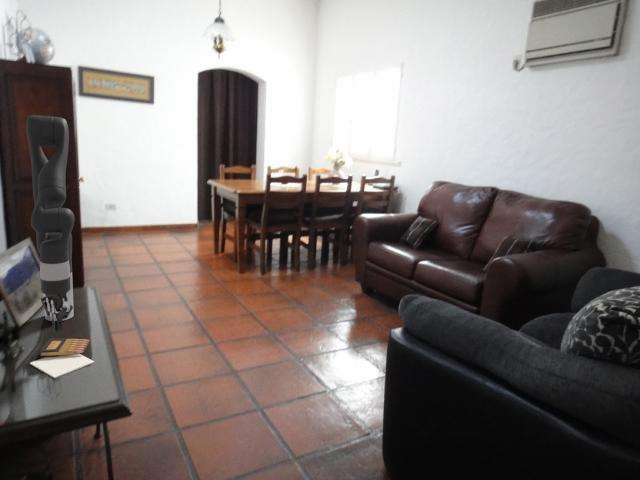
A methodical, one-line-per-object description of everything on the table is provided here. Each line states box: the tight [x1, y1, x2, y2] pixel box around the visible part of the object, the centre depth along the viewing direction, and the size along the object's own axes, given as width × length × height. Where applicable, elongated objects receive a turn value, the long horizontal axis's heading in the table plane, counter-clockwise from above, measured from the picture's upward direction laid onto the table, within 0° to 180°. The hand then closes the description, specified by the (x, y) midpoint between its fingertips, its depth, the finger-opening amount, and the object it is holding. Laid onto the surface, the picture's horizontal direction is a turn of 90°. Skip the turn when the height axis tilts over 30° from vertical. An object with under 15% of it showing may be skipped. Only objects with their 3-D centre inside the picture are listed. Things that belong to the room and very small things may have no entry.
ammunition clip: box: [39, 337, 91, 358], centre depth 141 cm, size 11×2×12 cm
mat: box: [29, 353, 95, 379], centre depth 134 cm, size 13×12×1 cm
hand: (57, 330), depth 133 cm, fingers closed
